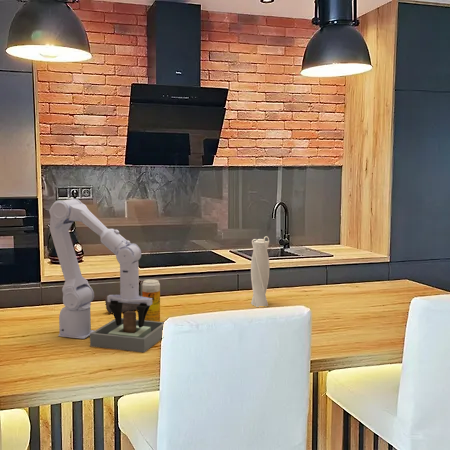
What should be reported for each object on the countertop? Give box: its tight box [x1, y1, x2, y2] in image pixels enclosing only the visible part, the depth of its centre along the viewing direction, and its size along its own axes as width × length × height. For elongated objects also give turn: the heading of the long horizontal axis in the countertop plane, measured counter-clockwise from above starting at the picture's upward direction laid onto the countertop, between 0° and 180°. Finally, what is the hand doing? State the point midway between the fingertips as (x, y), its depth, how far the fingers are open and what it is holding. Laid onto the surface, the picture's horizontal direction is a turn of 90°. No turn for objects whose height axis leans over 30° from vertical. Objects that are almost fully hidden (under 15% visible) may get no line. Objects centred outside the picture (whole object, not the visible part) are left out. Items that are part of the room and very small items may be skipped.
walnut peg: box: [122, 310, 137, 333], centre depth 174 cm, size 4×4×8 cm
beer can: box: [141, 279, 161, 322], centre depth 192 cm, size 6×6×15 cm
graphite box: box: [89, 317, 165, 353], centre depth 174 cm, size 18×18×4 cm
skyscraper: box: [250, 235, 271, 308], centre depth 216 cm, size 8×8×28 cm
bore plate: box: [108, 324, 151, 338], centre depth 174 cm, size 10×10×2 cm
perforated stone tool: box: [104, 293, 140, 314], centre depth 207 cm, size 15×5×7 cm, turn 115°
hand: (129, 325), depth 174 cm, fingers open, 7 cm apart
